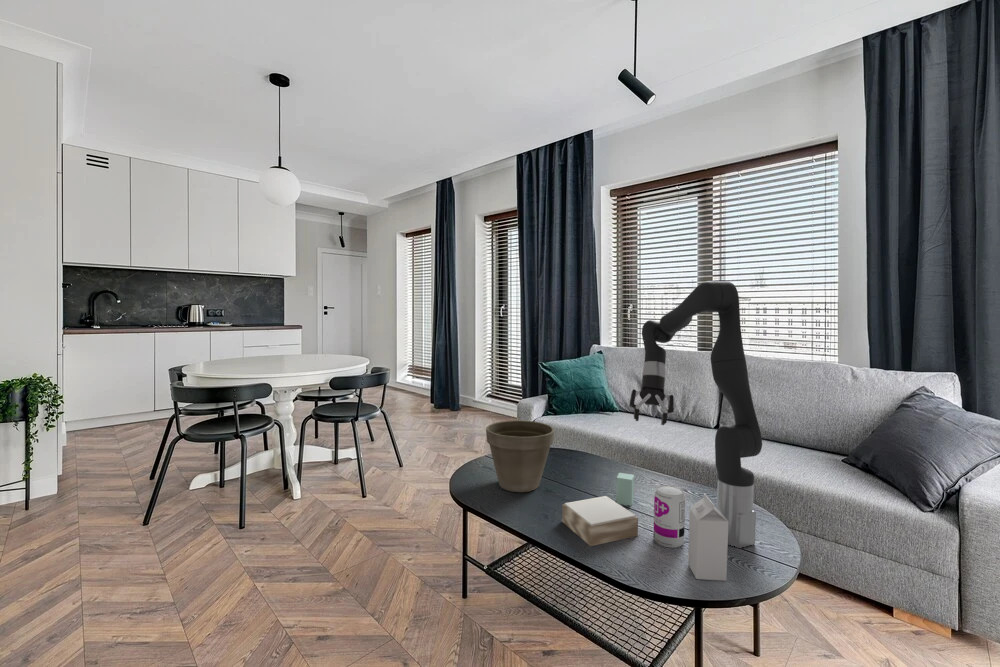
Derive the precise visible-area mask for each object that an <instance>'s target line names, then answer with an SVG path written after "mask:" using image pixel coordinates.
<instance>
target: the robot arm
mask: <svg viewBox="0 0 1000 667" xmlns="http://www.w3.org/2000/svg"><path fill="white" fill-rule="evenodd" d="M705 312H707V313H717V314H718V319H719V332H718V335H717V337H716V340H715V342H714V344H713V347H712V350H711V353H710V365H711V372H712V376H713V377H712V378H713V381H714V383H715V385H716V387H717V388H718V390H719V391H720V392H721V393H722V395H723V396H724V397H725V399H726V400H727V402H728V403H729V405H730V408H731V410H732V413H733V418H734V424H727V425H726V424H725V425H721V426H720V427H719V428H717V430H716V433H715V437H714V438H715V439H714V455H715V457H714V458H715V459H714V460H715V468H716V472H717V489H716V490H717V491H716V493H717V494H716V495H717V496H716V508H717V509H718V510H719V511H720V512H721V513H722V515H723V516H724V517H725V518H726V519H727V521H728V546H730V545H731V547H734V546H735V547H734V548H737V549H739V548H740V549H743V548H742V547H744V548H747V547H746V546H748V547H750V546H749V545H752V544H755V545H756V527H757V526H756V524H757V523H756V522H757V512H756V511H755V510H754V491H755V490H754V489H755V474H754V473H753V472H752V471H751V470H749V469H748V468H745V467H742V461H741V458H751V457H756V456H758V455H759V454H760V453H761V452H762V448H763V437H762V433H761V429H760V428H761V427H760V424H759V421H758V418H757V414H756V410H755V406H754V402H753V398H752V392H751V386H750V381H749V373H748V366H747V360H746V356H745V355H746V354H745V349H744V344H743V343H744V342H743V335H742V329H741V328H742V327H741V313H740V312H741V311H740V297H739V292H738V289H737V287H736V285H735V284H734V283H732V282H731V281H728V280H727V281H726V280H725V281H721V280H717V281H715V280H707V281H703V282H701V283H700V284H698V285H697V286H696V287H695V288H694V289H693V290H692V291H691V292H690V293H689V295H687V297H685V298H684V300H682V302H680V304H678V305H677V306H676V307H674V309H672V310H670V311H669V312H667V313H665V314H664V315H663V316H662V317H661V318H660V319H659V321H656V320H651V319H650V320H647V321H646V322H645V323H643V326H642V327H641V337H642V341H643V347H644V360H643V361H644V363H643V369H642V374H641V375H642V377H641V378H642V379H641V387H640V391H639V390H636V389H632V390H631V392H630V399H629V405H628V406H629V408H630V409H633V419H634V420H635V422H639V419H640V408H642V406H643V405H644V404H645V405H646V406H652V407H658V409H659V410H660V411H661V413H662V414H661V422H660V423H661V424H660V425H661V426H665V425H666V424H667V421H668V414H672V413H673V412H674V406H675V405H674V398H675V397H674V395H673V394H669V395H666V394H665V383H666V359H667V358H666V357H667V351H666V349H665V348H664V347H662V346H660V345H659V344H658V343H660V344H666V343H669V342H670V341H672V339H673V338H674V336H675V335H676V334H677V333H678V332H680V331H681V330H683V329H685V328H686V327H688V326H689V324H690V323H691V322H692V320H693V317H694V316H696V315H697V314H702V313H705ZM638 395H639V397H640V399H641V400H640V402H638V404H635V401H636V398H637V397H638ZM664 399H665V400H666V401H667V402H668V407H667V408H666V405H665V403H664V402H663V401H664ZM752 546H753V545H752Z"/></svg>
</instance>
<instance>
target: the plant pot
mask: <svg viewBox="0 0 1000 667" xmlns="http://www.w3.org/2000/svg"><path fill="white" fill-rule="evenodd" d="M485 432H486V435H485V436H486V442H487V444H489V448H490V452H491V456H492V457H491V458H492V461H493V464H494V469H495V473H496V478H497V480H498V484H499V486H500V488H501V489H503V490H505V491H509V492H513V493H528V492H532V490H533V491H535V490H536V489H538V488H539V486H540V483H541V481H542V480H541V479H542V477H543V473H544V469H545V466H546V463H547V460H548V456H549V453H550V448H551V446H552V445H553V443H554V437H555V429H554V427H552V426H551V425H549V424H548V423H547V424H546V423H543V422H539V421H531V420H504V421H503V420H502V421H498V422H494V423H491V424H489V425H487V426H486V427H485Z"/></svg>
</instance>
